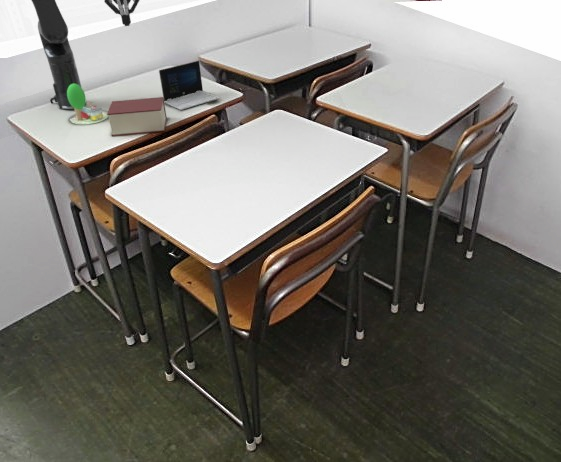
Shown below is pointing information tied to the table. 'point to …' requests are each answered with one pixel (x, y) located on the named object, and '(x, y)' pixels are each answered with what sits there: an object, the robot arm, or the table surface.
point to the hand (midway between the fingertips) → (127, 25)
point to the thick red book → (137, 116)
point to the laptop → (184, 86)
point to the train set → (83, 107)
